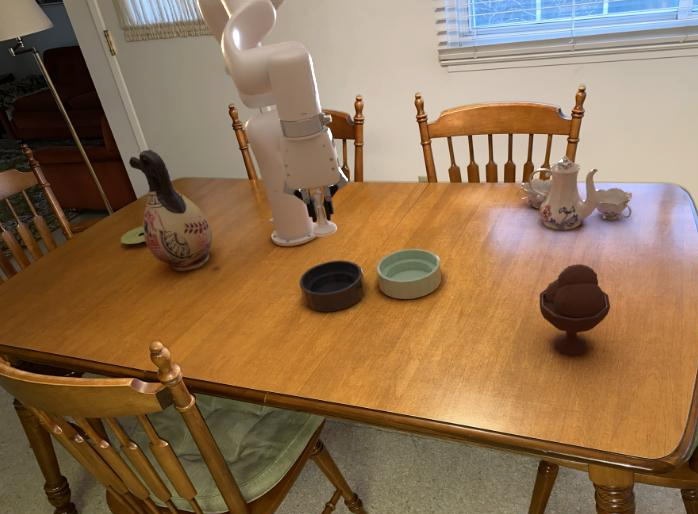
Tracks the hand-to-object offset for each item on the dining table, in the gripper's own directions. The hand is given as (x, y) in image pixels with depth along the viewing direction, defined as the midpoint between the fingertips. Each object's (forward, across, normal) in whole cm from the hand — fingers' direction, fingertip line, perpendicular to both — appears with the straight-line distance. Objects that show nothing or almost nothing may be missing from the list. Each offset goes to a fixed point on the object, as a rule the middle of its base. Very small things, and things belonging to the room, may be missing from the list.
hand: (322, 217), depth 108 cm
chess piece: (+3, 0, 0) cm, 3 cm away
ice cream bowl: (+17, -41, +26) cm, 52 cm away
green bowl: (+18, -16, 0) cm, 24 cm away
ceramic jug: (+19, +38, -22) cm, 48 cm away
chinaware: (+18, -55, -20) cm, 61 cm away
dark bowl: (+18, +1, +1) cm, 18 cm away
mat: (+19, +57, -40) cm, 72 cm away
